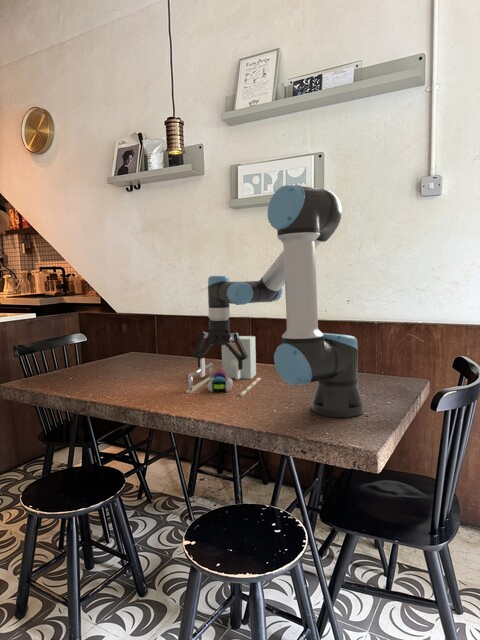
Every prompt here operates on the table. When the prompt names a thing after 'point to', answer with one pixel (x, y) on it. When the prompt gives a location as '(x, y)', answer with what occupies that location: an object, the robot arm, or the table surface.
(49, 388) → the table surface
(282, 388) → the table surface
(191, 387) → the handrail
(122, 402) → the table surface
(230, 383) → the rainbow petal baby toy
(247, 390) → the cream square stick
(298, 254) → the robot arm
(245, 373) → the cabinet
